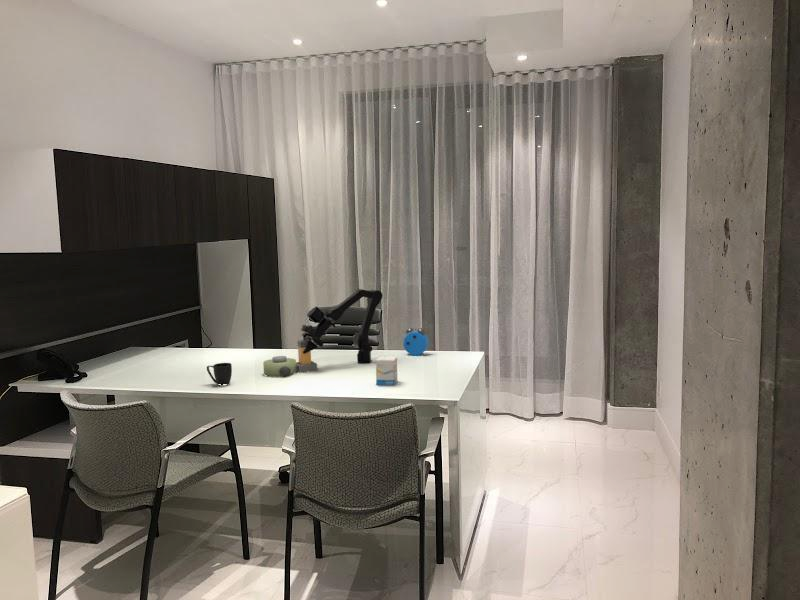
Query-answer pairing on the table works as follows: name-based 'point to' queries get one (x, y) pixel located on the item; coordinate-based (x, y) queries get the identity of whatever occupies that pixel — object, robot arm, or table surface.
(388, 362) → the ink box
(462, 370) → the table surface
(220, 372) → the mug
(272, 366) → the mower deck
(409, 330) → the alarm clock
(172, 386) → the table surface
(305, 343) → the orange bottle
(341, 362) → the table surface
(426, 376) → the table surface
